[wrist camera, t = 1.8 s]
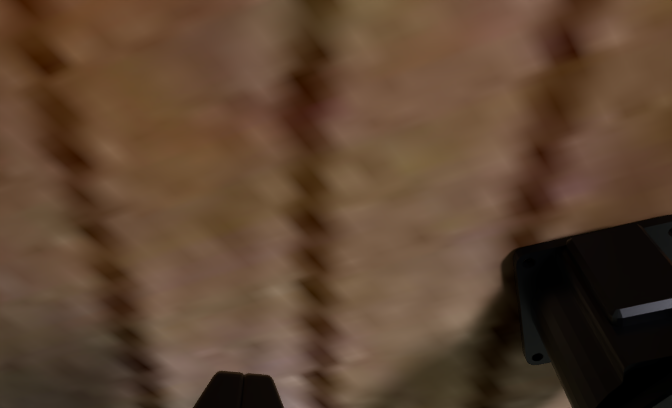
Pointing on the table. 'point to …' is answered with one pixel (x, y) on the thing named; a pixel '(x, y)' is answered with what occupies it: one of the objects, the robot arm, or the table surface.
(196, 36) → the table surface
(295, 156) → the table surface
